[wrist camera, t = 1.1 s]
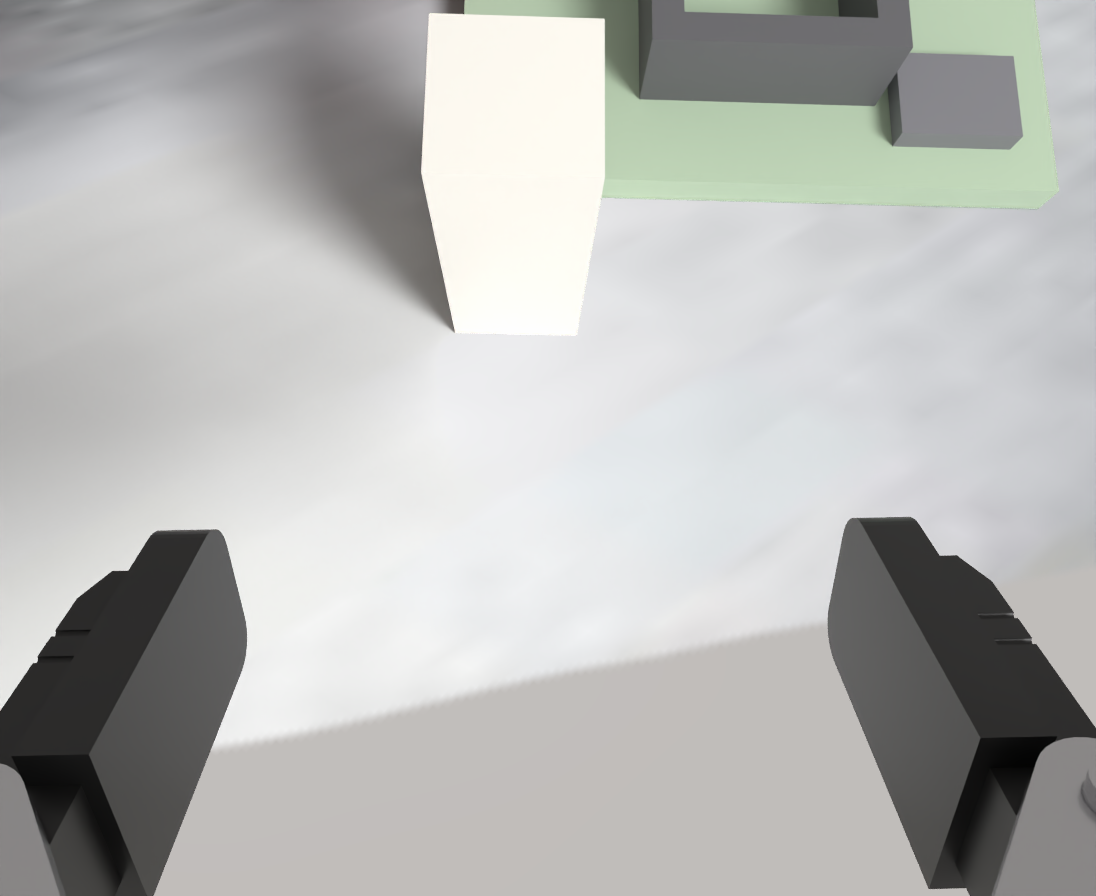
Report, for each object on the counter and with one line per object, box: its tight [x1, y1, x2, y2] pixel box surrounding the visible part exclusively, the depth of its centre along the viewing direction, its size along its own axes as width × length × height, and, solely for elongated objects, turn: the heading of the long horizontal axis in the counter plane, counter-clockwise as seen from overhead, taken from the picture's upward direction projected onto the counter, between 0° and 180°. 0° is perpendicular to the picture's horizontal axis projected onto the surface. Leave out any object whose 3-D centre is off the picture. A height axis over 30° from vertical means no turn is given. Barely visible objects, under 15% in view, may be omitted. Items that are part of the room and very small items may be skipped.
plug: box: [421, 13, 605, 336], centre depth 24 cm, size 4×5×10 cm
